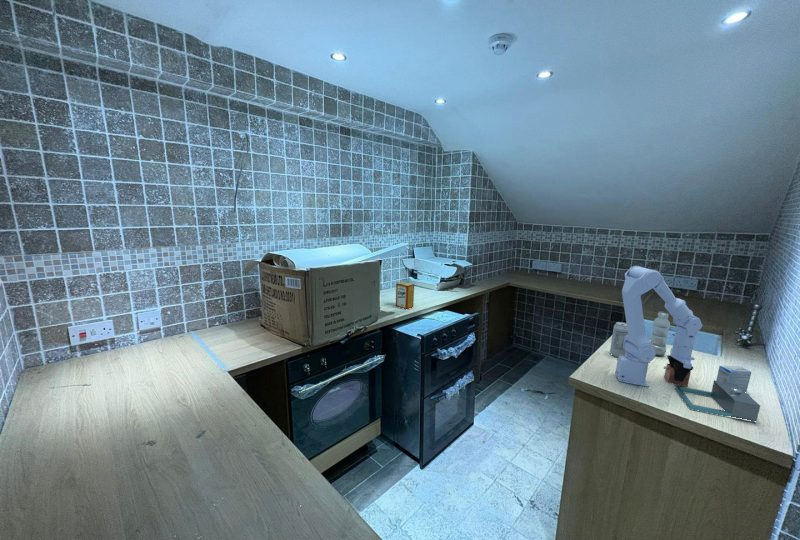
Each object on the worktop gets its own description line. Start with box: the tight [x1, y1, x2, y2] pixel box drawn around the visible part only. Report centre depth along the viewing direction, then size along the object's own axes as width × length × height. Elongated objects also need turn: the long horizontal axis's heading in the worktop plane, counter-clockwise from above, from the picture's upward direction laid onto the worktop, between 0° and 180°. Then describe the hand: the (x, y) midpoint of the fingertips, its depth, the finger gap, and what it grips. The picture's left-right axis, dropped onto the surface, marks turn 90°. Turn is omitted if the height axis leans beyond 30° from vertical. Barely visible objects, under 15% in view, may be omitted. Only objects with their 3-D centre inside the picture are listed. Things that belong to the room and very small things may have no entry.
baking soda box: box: [395, 281, 415, 310], centre depth 212 cm, size 10×6×16 cm
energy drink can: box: [609, 321, 628, 358], centre depth 148 cm, size 6×6×15 cm
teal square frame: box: [674, 380, 761, 422], centre depth 112 cm, size 16×14×7 cm
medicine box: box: [715, 365, 752, 393], centre depth 122 cm, size 8×4×9 cm, turn 92°
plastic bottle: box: [650, 311, 672, 357], centre depth 151 cm, size 6×7×20 cm
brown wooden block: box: [663, 363, 692, 387], centre depth 127 cm, size 7×4×6 cm, turn 67°
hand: (676, 377), depth 127 cm, fingers closed on brown wooden block, 4 cm apart
